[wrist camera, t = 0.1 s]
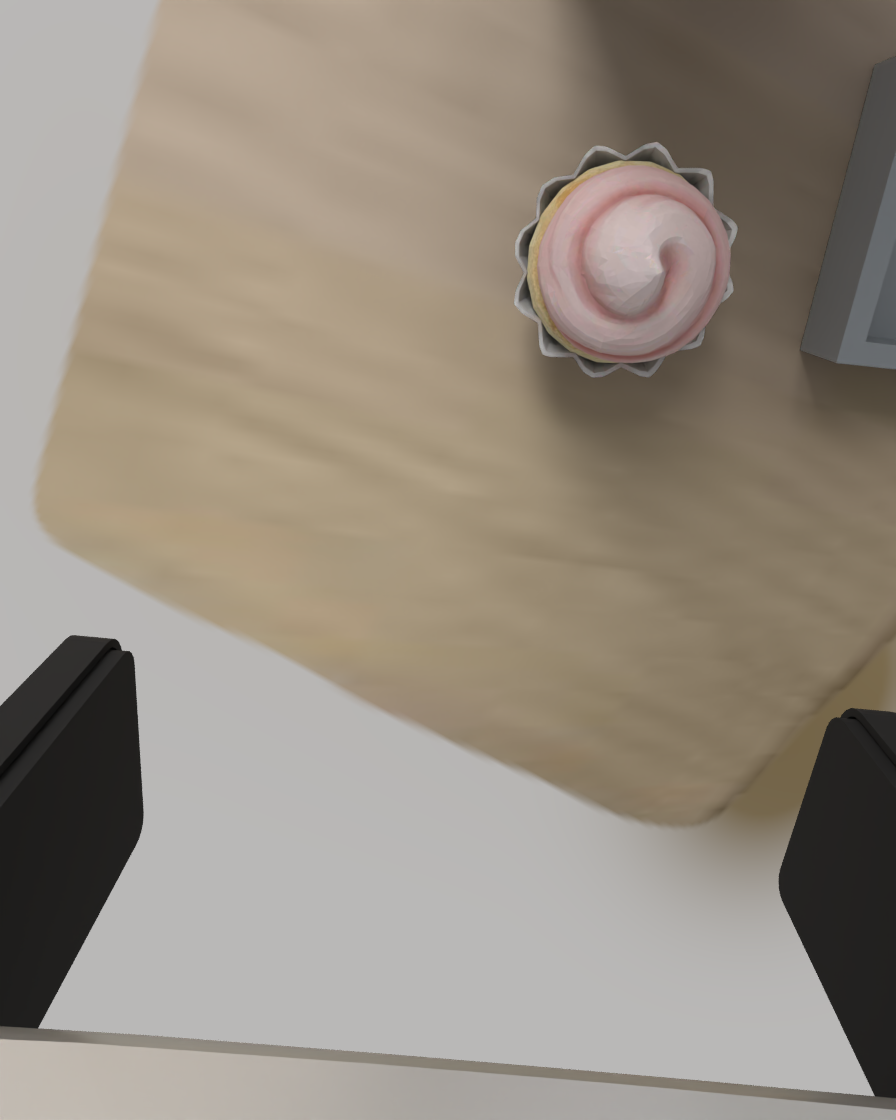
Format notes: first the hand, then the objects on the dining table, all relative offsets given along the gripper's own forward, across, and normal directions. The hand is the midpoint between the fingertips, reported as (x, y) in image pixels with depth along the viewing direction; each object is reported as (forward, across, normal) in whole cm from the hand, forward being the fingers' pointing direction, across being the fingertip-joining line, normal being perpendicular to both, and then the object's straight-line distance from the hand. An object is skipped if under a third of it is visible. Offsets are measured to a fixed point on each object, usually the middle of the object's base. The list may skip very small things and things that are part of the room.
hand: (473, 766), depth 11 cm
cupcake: (+31, -6, -6) cm, 33 cm away
